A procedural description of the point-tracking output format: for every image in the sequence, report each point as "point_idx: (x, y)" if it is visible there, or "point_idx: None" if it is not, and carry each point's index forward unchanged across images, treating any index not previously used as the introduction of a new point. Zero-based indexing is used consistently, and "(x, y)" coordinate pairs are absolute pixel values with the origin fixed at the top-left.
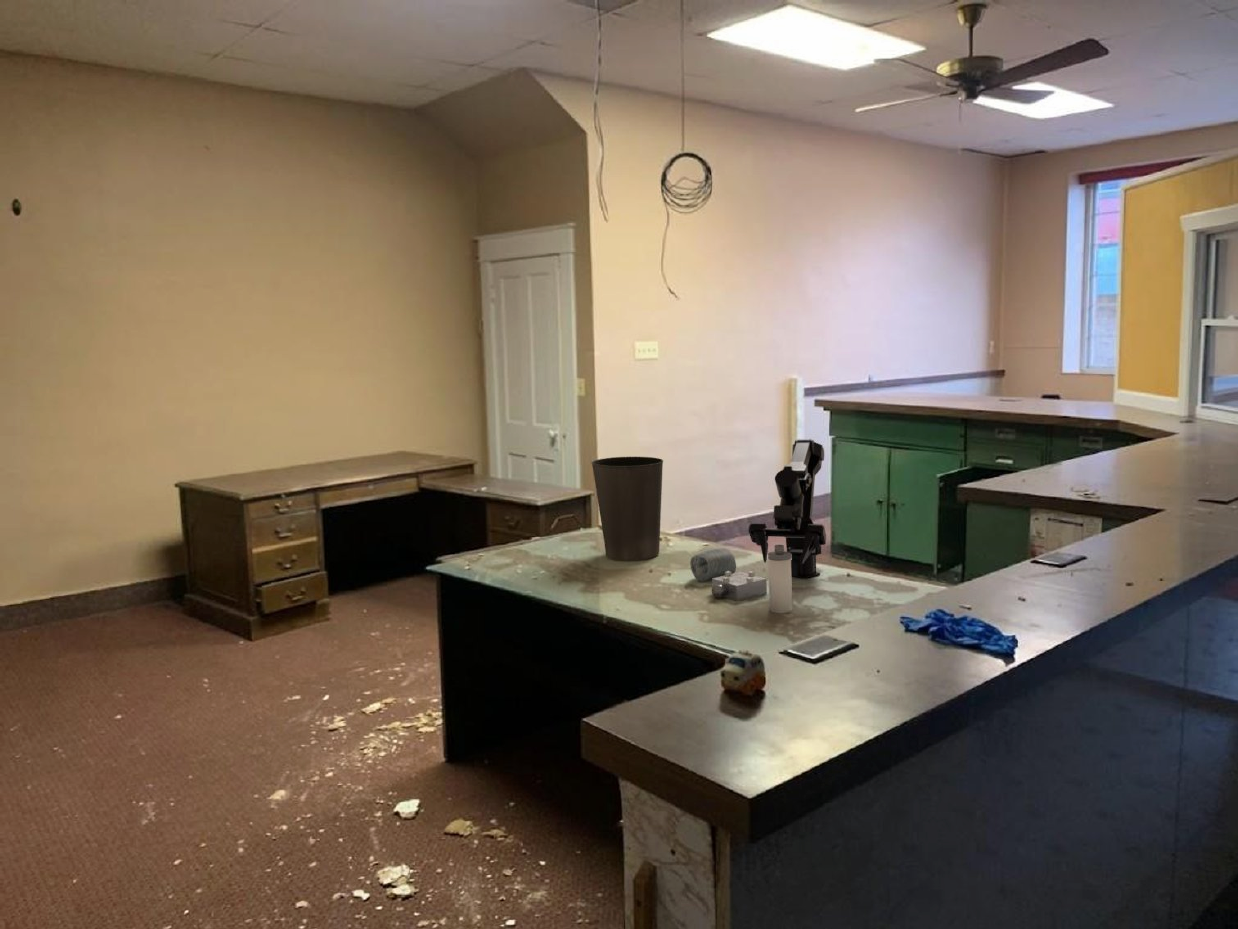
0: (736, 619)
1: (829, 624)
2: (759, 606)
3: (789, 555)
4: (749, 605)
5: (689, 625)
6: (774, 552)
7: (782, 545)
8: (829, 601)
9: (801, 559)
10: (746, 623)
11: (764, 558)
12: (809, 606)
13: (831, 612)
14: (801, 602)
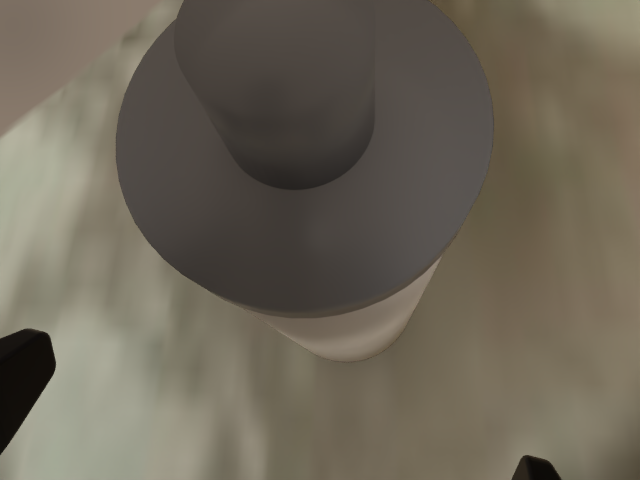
0: (595, 121)
1: (127, 61)
2: (483, 375)
3: (154, 45)
4: (554, 402)
5: None
6: (380, 213)
7: (199, 45)
8: (37, 473)
9: (17, 342)
10: (529, 60)
11: (543, 474)
12: (174, 364)
13: (77, 244)
14: (210, 459)
